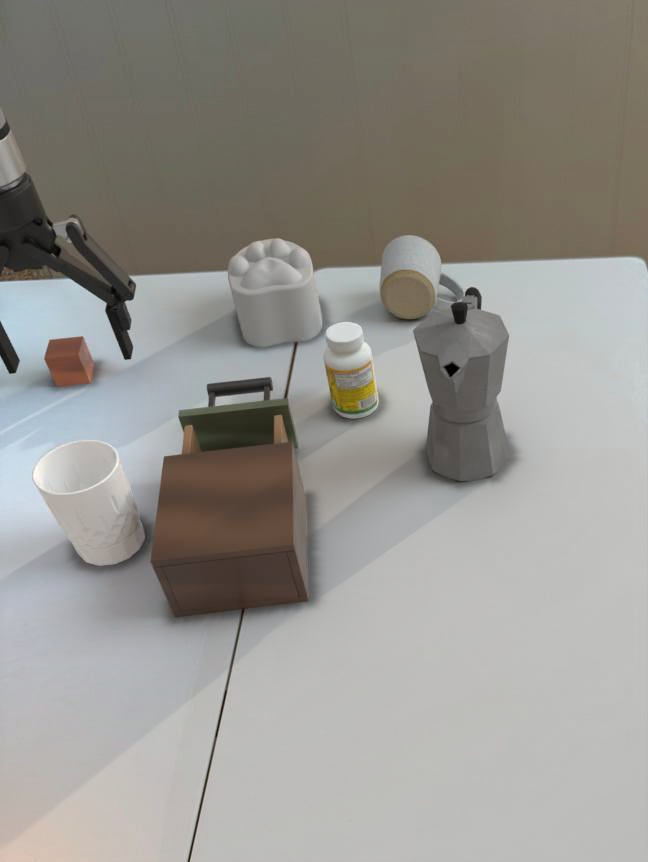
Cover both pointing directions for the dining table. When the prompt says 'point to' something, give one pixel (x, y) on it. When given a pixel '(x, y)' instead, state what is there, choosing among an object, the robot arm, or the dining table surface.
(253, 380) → the drawer
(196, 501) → the cabinet
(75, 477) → the white cup
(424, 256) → the ceramic mug
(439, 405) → the coffeepot
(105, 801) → the dining table surface
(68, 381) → the block
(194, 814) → the dining table surface
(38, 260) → the robot arm
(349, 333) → the supplement bottle
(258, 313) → the lumpy-topped squat cylinder
